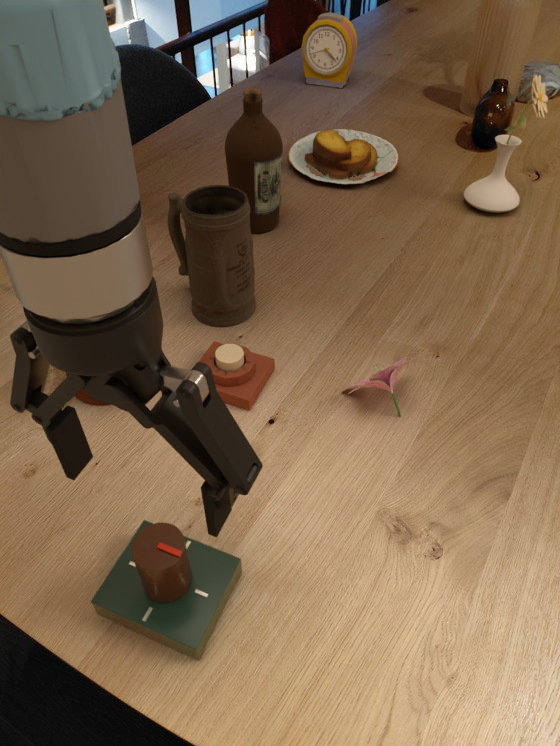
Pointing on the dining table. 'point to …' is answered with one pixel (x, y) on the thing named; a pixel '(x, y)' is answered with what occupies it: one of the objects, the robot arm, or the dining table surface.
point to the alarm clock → (329, 48)
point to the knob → (162, 562)
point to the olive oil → (256, 162)
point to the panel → (178, 618)
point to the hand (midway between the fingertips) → (147, 493)
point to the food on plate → (343, 156)
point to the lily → (385, 378)
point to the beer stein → (215, 252)
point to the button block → (240, 377)
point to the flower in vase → (505, 163)
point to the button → (229, 357)
